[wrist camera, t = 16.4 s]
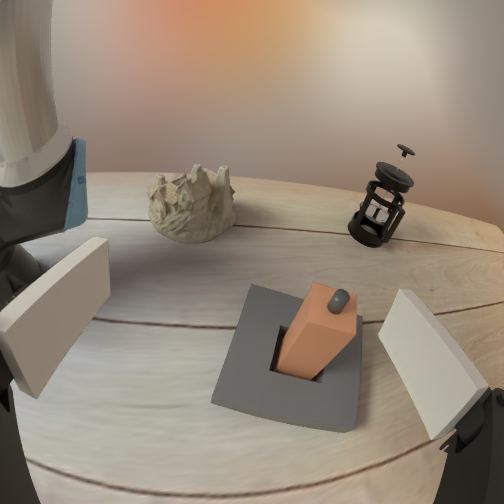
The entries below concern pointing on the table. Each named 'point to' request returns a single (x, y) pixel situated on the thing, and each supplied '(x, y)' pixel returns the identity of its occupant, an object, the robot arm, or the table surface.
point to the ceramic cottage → (192, 205)
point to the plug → (317, 332)
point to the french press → (375, 213)
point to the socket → (283, 386)
